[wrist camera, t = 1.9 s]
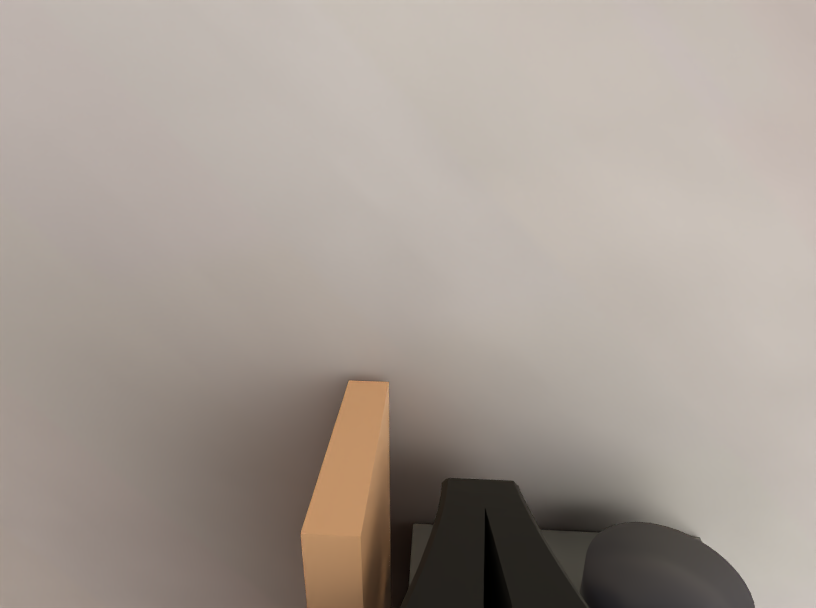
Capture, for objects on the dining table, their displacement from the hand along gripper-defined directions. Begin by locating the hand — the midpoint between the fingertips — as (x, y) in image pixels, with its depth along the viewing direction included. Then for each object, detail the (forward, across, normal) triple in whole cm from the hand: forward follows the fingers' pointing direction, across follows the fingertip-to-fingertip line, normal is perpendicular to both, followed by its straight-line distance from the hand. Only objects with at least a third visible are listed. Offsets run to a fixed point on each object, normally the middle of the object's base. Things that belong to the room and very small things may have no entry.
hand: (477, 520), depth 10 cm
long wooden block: (+1, +2, +6) cm, 7 cm away
